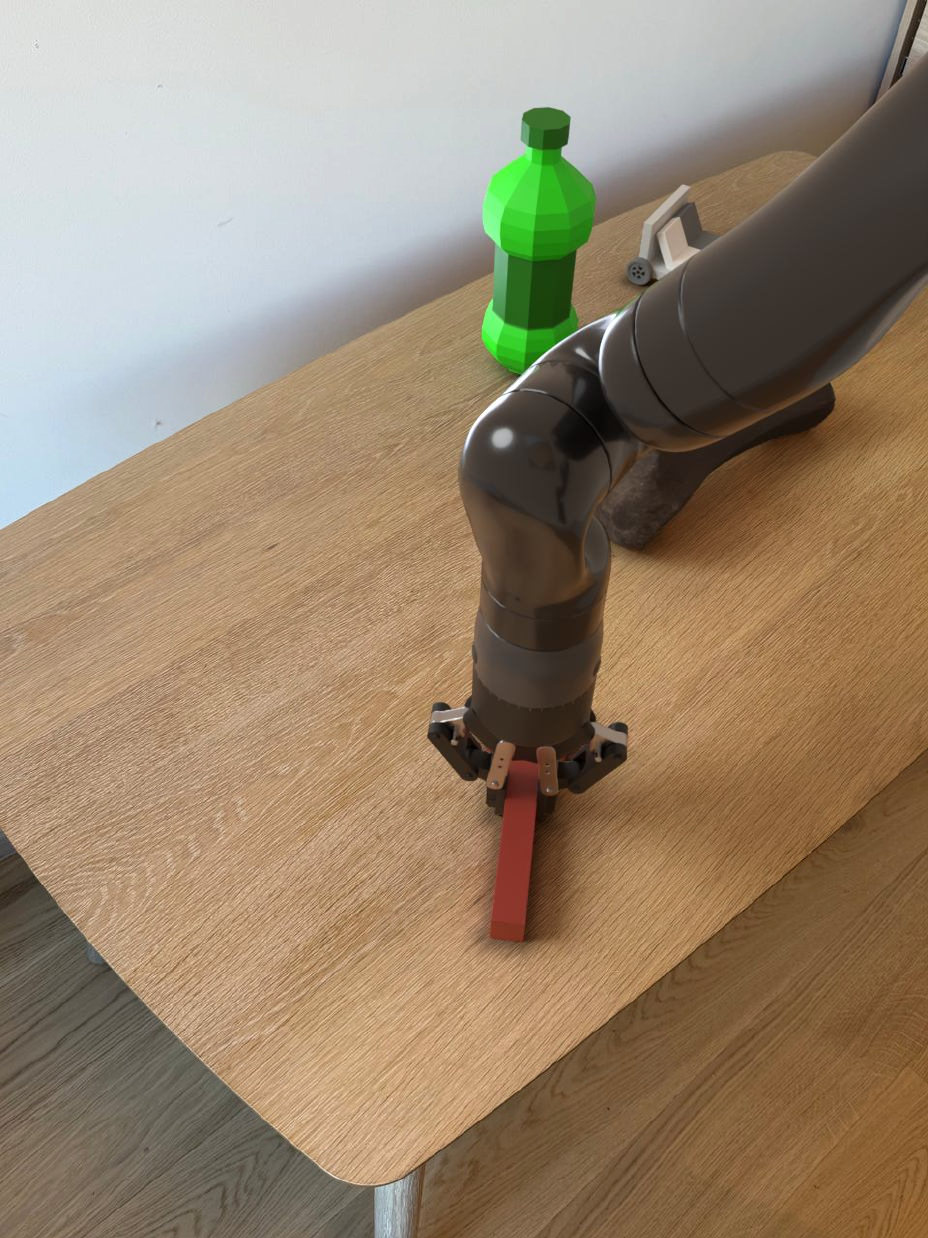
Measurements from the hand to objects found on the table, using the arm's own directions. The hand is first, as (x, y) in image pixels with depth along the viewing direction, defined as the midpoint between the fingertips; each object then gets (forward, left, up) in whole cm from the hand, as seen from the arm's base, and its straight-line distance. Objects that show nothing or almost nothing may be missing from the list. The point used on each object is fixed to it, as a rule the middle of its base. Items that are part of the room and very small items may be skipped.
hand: (520, 805), depth 78 cm
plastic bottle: (+53, +4, 0) cm, 53 cm away
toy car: (+71, -16, 0) cm, 73 cm away
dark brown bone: (+38, -13, 0) cm, 40 cm away
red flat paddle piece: (-1, 0, 0) cm, 1 cm away
